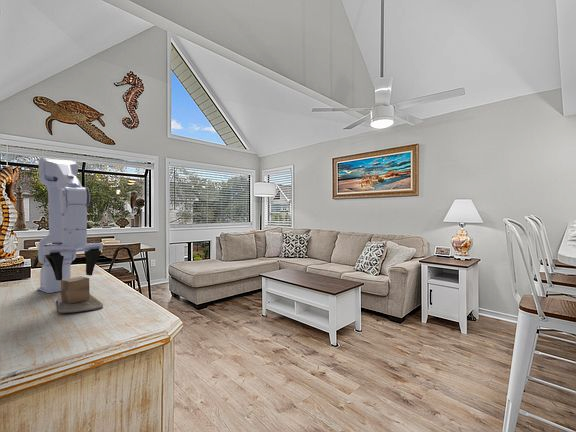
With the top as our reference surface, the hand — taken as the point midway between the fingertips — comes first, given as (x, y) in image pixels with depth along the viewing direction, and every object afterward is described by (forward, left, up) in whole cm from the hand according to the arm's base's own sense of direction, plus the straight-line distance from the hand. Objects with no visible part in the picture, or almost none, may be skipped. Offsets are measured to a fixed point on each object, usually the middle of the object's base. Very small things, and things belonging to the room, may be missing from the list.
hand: (74, 277), depth 86 cm
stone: (0, +1, -9) cm, 9 cm away
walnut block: (0, 0, -7) cm, 7 cm away
